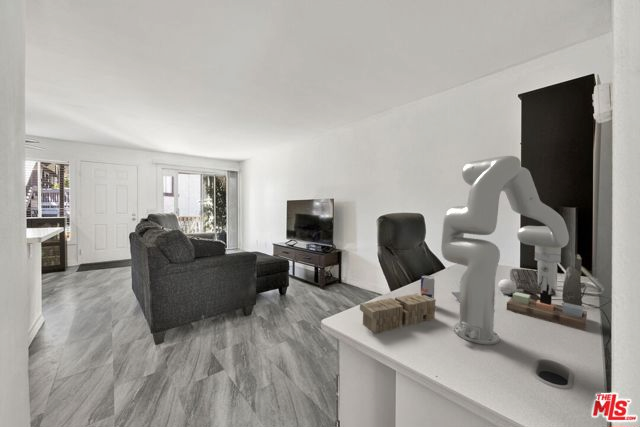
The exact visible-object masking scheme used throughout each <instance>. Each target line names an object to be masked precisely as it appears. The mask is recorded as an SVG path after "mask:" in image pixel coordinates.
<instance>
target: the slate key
mask: <svg viewBox="0 0 640 427" xmlns="http://www.w3.org/2000/svg"><path fill="white" fill-rule="evenodd" d="M562 306H563V308H562V313H565V314H569V315H573V316H577V317H581V318H582V314H583V310H584V308H583V306H582V305H577V304H573V303H569V302H563V304H562Z"/></svg>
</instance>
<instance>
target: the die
mask: <svg viewBox="0 0 640 427" xmlns="http://www.w3.org/2000/svg"><path fill="white" fill-rule="evenodd" d="M453 285H454V286H452V287H453V288H452V290H451V291H450V294H452V295H453V297H454V298H456V299H457V301H459V302H460V282H459V281H457V282H456V281H455V283H454V284H453Z"/></svg>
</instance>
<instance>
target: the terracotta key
mask: <svg viewBox="0 0 640 427" xmlns="http://www.w3.org/2000/svg"><path fill="white" fill-rule="evenodd" d="M537 300H538V301H537V302H536V307H540V308H544V309H548V310H552V311H554V310H555V304H556V303H553V302H551V304H550V305H549V304H544V303H541V302H540V299H537Z"/></svg>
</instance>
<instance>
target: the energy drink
mask: <svg viewBox="0 0 640 427" xmlns="http://www.w3.org/2000/svg"><path fill="white" fill-rule="evenodd" d="M420 295H421V296H423V295H426V296H428V297H431V298H433V299H435V277H433V276H430V275H421V277H420Z"/></svg>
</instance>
